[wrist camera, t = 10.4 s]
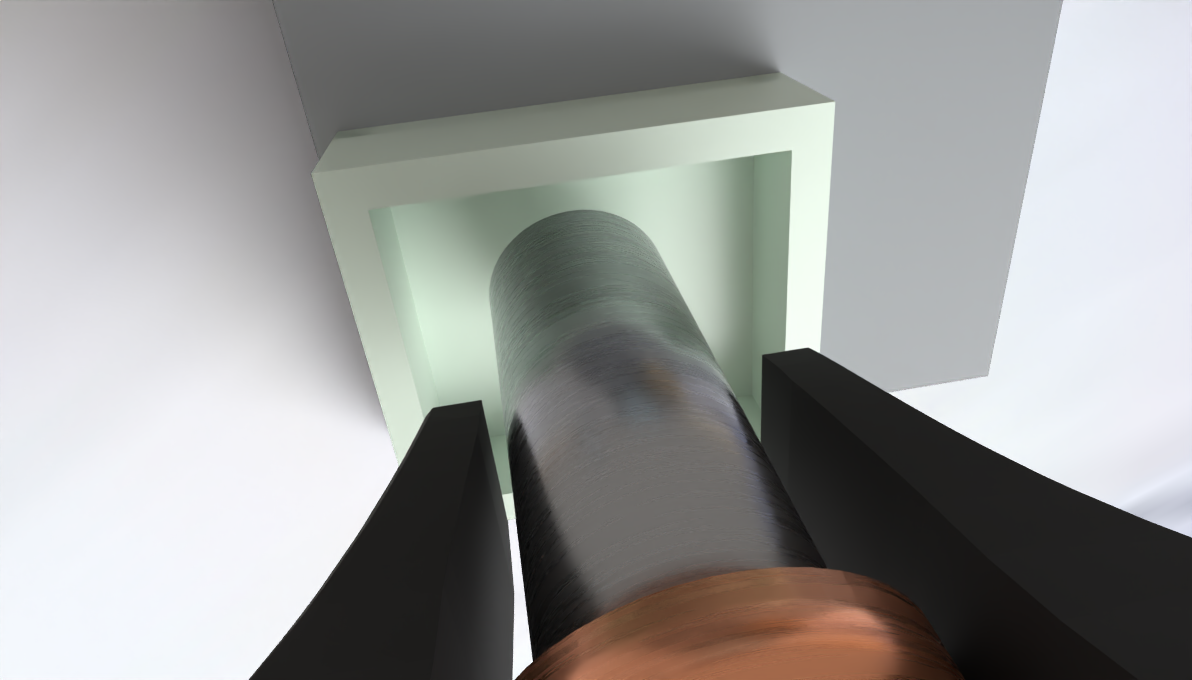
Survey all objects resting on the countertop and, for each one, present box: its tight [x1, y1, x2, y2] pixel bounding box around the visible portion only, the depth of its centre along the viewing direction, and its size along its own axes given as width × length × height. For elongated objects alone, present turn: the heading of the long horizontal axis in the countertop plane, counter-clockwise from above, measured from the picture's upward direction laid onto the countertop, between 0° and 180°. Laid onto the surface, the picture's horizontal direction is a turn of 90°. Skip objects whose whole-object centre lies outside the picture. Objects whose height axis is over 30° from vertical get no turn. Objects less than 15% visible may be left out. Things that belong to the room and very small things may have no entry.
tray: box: [311, 72, 835, 520], centre depth 13 cm, size 7×7×2 cm
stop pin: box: [489, 210, 965, 680], centre depth 9 cm, size 4×4×8 cm
